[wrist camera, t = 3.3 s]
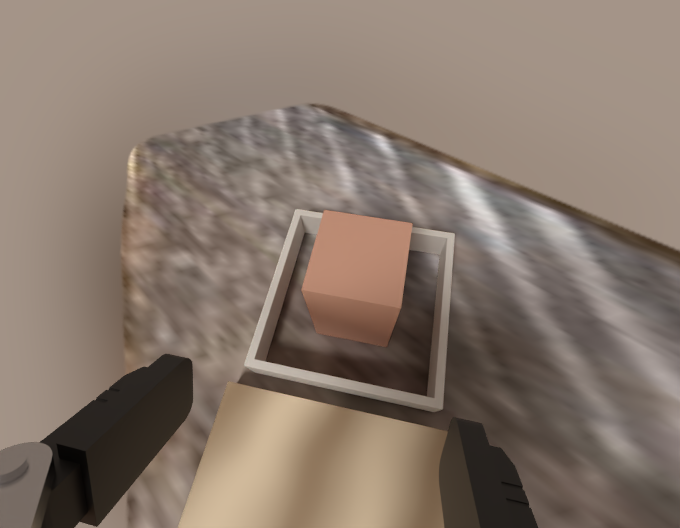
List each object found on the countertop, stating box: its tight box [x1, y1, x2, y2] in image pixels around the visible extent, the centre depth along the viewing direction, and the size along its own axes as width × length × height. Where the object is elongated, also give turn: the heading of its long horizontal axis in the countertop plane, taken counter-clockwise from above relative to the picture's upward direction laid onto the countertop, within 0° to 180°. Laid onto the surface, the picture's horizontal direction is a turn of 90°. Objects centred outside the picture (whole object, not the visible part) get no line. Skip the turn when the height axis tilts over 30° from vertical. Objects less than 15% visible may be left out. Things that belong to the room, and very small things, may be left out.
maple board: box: [178, 381, 448, 528], centre depth 19 cm, size 14×10×2 cm
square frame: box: [244, 209, 455, 412], centre depth 24 cm, size 12×12×2 cm
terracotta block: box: [301, 210, 413, 347], centre depth 21 cm, size 5×5×8 cm
